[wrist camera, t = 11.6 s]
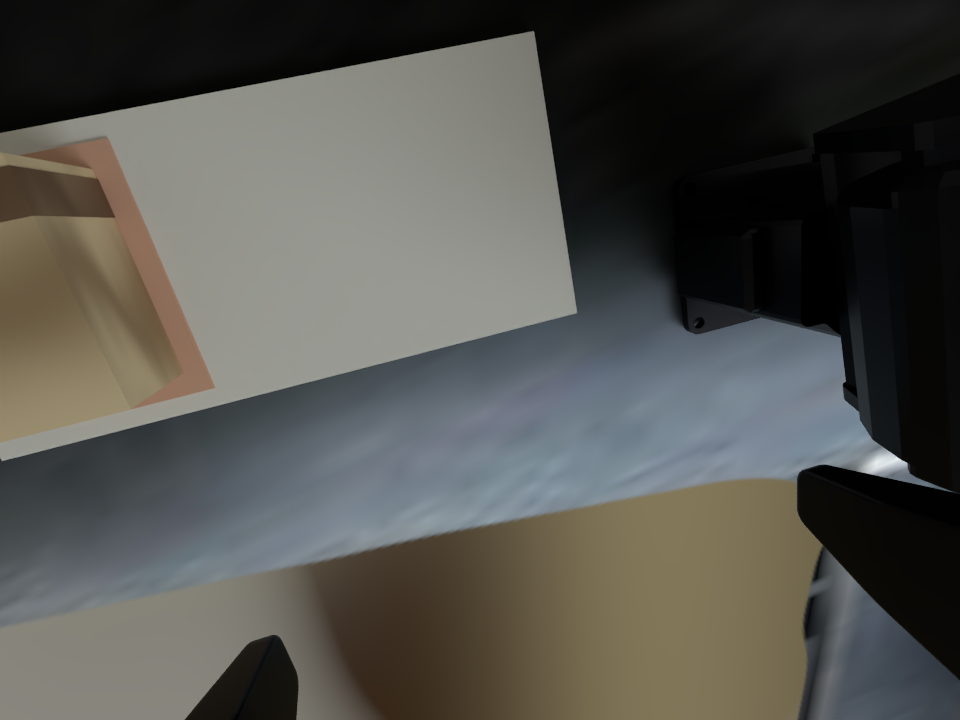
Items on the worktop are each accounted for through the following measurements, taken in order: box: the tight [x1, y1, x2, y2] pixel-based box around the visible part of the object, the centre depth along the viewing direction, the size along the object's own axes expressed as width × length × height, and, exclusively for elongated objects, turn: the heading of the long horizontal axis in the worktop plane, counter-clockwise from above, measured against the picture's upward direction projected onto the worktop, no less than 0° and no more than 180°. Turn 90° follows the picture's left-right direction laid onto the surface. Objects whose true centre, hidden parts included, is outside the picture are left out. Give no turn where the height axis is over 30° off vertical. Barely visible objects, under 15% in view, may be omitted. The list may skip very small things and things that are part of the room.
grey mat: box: [0, 31, 577, 461], centre depth 16 cm, size 22×10×1 cm, turn 102°
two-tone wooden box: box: [0, 152, 184, 443], centre depth 14 cm, size 7×4×4 cm, turn 12°
